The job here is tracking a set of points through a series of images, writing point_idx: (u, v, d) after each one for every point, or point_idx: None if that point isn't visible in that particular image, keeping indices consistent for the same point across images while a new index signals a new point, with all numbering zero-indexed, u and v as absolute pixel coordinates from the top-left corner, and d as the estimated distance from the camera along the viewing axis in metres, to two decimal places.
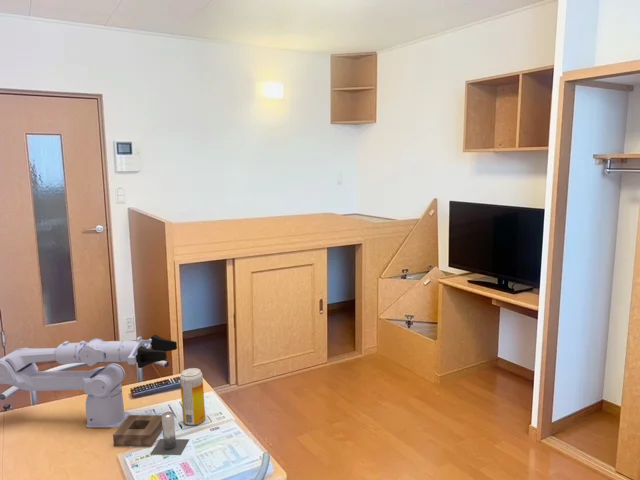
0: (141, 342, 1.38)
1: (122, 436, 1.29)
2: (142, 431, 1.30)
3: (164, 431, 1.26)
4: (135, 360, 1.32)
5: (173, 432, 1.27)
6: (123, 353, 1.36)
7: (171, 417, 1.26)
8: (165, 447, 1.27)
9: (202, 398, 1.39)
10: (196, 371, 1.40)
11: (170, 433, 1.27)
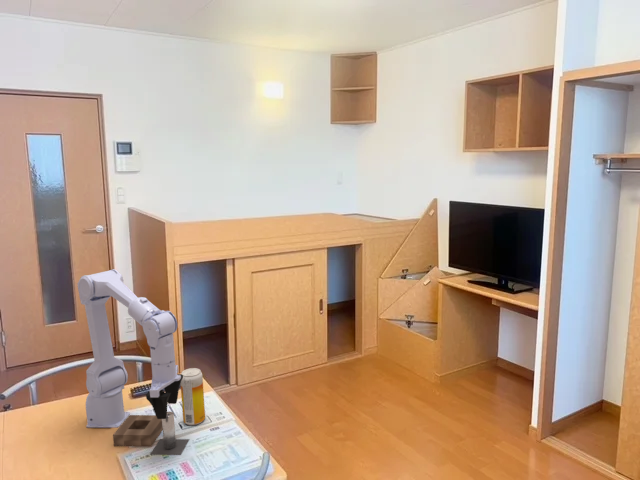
0: None
1: (122, 436, 1.29)
2: (142, 431, 1.30)
3: (164, 431, 1.26)
4: None
5: (173, 432, 1.27)
6: (161, 369, 1.22)
7: (171, 417, 1.26)
8: (165, 447, 1.27)
9: (202, 398, 1.39)
10: (196, 371, 1.40)
11: (170, 433, 1.27)
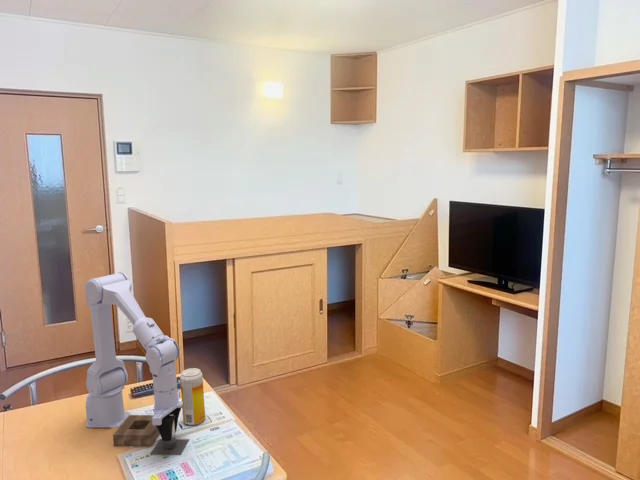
0: None
1: (122, 436, 1.29)
2: (142, 431, 1.30)
3: None
4: None
5: (173, 432, 1.27)
6: (163, 396, 1.23)
7: None
8: (165, 447, 1.27)
9: (202, 398, 1.39)
10: (196, 371, 1.40)
11: None
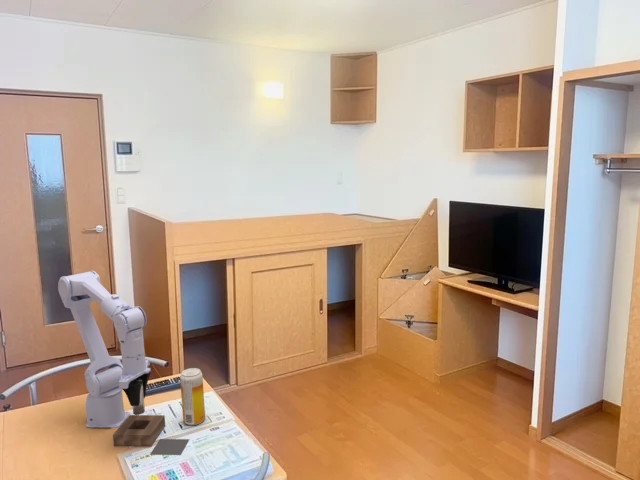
0: None
1: (122, 436, 1.29)
2: (142, 431, 1.30)
3: None
4: None
5: (141, 397, 1.31)
6: (130, 362, 1.28)
7: None
8: (134, 412, 1.32)
9: (202, 398, 1.39)
10: (196, 371, 1.40)
11: None
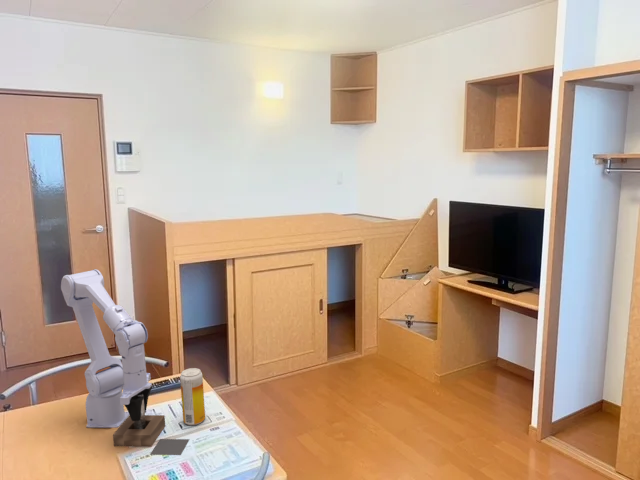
0: None
1: (122, 436, 1.29)
2: (142, 431, 1.30)
3: None
4: None
5: (142, 412, 1.32)
6: (131, 377, 1.28)
7: None
8: (135, 427, 1.32)
9: (202, 398, 1.39)
10: (196, 371, 1.40)
11: None
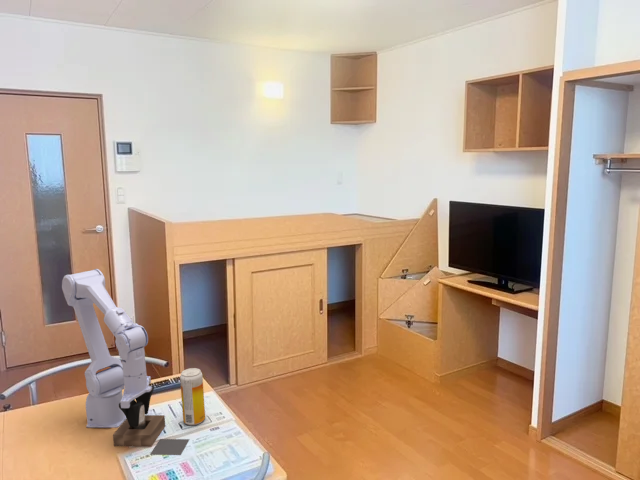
0: None
1: (122, 436, 1.29)
2: (142, 431, 1.30)
3: None
4: None
5: (143, 423, 1.33)
6: (132, 381, 1.28)
7: (141, 408, 1.32)
8: None
9: (202, 398, 1.39)
10: (196, 371, 1.40)
11: (140, 423, 1.32)
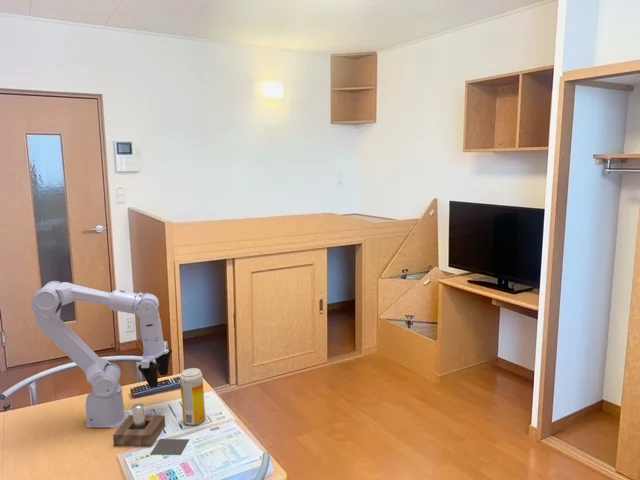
0: None
1: (122, 436, 1.29)
2: (142, 431, 1.30)
3: (134, 422, 1.32)
4: None
5: (143, 423, 1.33)
6: (150, 344, 1.39)
7: (141, 408, 1.32)
8: None
9: (202, 398, 1.39)
10: (196, 371, 1.40)
11: (140, 423, 1.32)
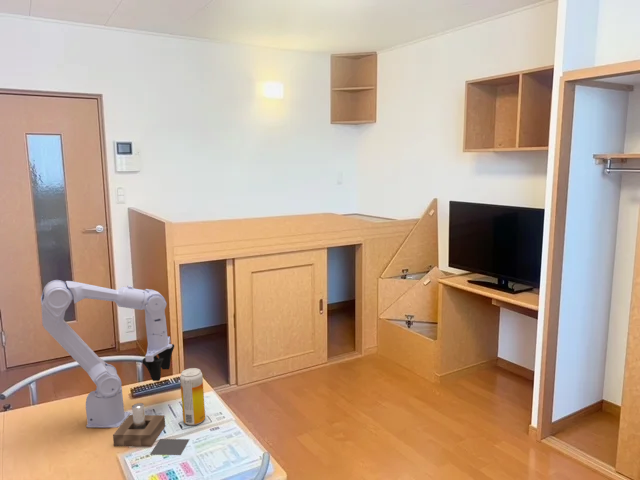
0: None
1: (122, 436, 1.29)
2: (142, 431, 1.30)
3: (134, 422, 1.32)
4: None
5: (143, 423, 1.33)
6: (154, 338, 1.43)
7: (141, 408, 1.32)
8: None
9: (202, 398, 1.39)
10: (196, 371, 1.40)
11: (140, 423, 1.32)
